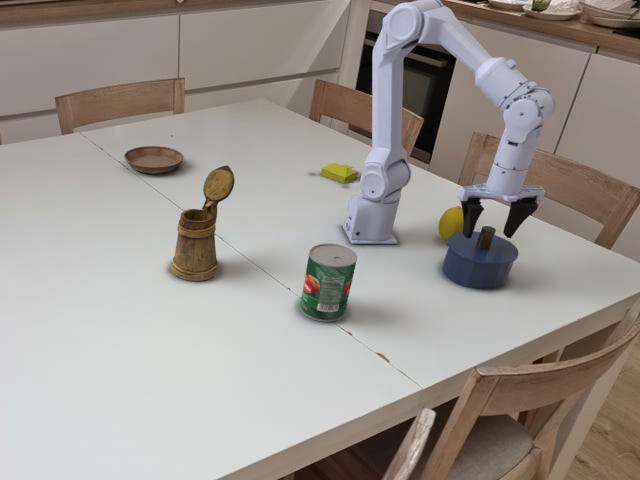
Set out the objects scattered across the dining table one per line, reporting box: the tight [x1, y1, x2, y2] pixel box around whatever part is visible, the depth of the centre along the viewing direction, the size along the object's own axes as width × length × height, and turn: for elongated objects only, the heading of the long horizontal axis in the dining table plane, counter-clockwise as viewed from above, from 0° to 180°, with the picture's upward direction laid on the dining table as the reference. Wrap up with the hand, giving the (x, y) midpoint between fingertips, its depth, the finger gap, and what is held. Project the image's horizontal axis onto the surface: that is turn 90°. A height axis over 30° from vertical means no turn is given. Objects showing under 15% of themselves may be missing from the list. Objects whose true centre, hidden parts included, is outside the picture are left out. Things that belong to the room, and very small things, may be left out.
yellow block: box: [312, 162, 360, 188], centre depth 166 cm, size 10×9×3 cm
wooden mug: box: [170, 164, 236, 282], centre depth 125 cm, size 9×14×18 cm, turn 141°
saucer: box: [123, 145, 184, 175], centre depth 169 cm, size 15×15×3 cm
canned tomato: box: [299, 243, 358, 323], centre depth 115 cm, size 8×8×11 cm
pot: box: [441, 246, 514, 291], centre depth 127 cm, size 11×11×6 cm
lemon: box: [437, 205, 463, 243], centre depth 137 cm, size 6×6×8 cm
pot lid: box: [446, 225, 520, 265], centre depth 125 cm, size 12×12×5 cm
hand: (486, 235), depth 124 cm, fingers open, 7 cm apart
